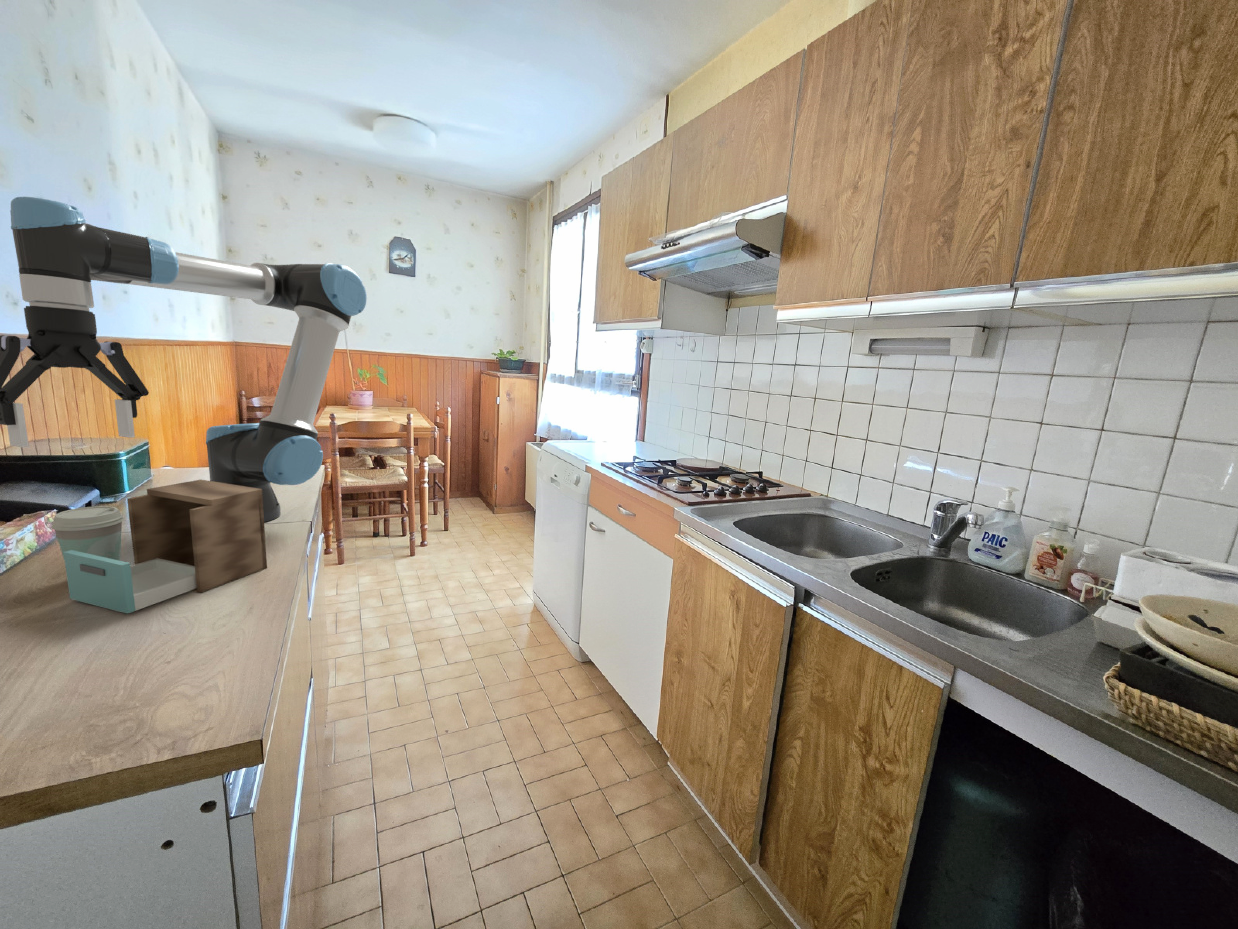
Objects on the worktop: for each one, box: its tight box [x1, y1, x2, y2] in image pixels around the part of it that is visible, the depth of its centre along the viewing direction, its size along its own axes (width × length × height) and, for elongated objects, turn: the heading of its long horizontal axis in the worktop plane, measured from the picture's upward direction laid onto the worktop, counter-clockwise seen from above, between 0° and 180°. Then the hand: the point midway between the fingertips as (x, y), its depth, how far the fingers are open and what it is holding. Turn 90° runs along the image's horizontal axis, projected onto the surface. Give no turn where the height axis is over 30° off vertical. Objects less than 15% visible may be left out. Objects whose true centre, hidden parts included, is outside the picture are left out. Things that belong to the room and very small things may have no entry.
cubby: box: [126, 479, 268, 594], centre depth 91 cm, size 12×15×16 cm
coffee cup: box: [51, 505, 125, 562], centre depth 86 cm, size 8×8×12 cm
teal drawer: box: [63, 550, 197, 614], centre depth 82 cm, size 12×13×8 cm
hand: (77, 441), depth 83 cm, fingers open, 13 cm apart
